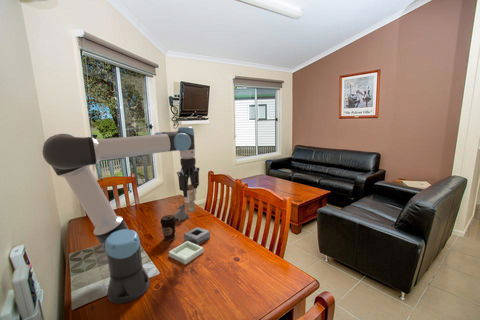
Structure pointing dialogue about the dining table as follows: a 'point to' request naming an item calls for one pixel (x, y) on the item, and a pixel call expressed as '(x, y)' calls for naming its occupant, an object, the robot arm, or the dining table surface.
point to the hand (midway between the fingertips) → (190, 201)
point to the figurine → (181, 213)
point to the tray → (186, 252)
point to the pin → (191, 199)
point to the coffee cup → (168, 227)
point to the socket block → (197, 235)
